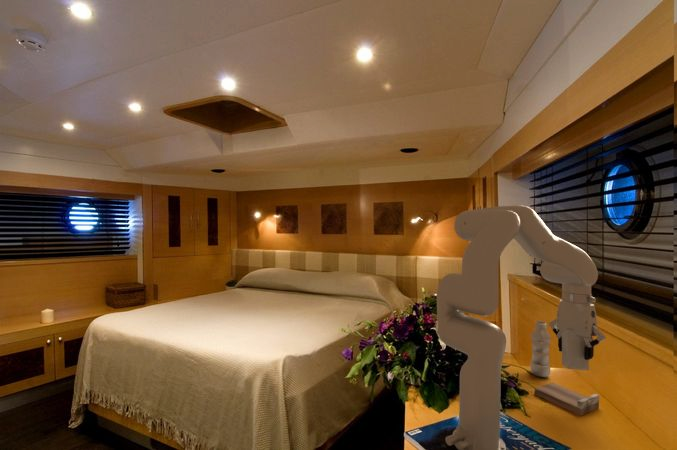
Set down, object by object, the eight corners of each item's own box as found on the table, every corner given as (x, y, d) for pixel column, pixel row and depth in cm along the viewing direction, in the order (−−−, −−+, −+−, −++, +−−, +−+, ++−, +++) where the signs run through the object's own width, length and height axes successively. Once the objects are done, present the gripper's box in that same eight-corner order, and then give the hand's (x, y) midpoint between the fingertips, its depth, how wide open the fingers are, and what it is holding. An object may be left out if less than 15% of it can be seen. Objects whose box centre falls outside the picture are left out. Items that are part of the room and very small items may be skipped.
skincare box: (581, 365, 108) (582, 327, 108) (589, 370, 104) (589, 331, 104) (560, 363, 109) (561, 326, 109) (567, 369, 105) (568, 330, 105)
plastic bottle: (532, 378, 125) (533, 324, 125) (528, 370, 131) (529, 319, 131) (552, 380, 123) (553, 325, 123) (547, 373, 129) (548, 320, 129)
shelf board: (582, 416, 100) (582, 402, 100) (534, 394, 112) (534, 382, 112) (599, 408, 104) (600, 395, 104) (552, 388, 117) (552, 376, 117)
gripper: (615, 302, 100) (613, 362, 100) (554, 292, 116) (553, 344, 116) (601, 305, 97) (600, 367, 97) (541, 293, 112) (540, 347, 112)
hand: (575, 354), depth 106 cm, fingers closed on skincare box, 6 cm apart
